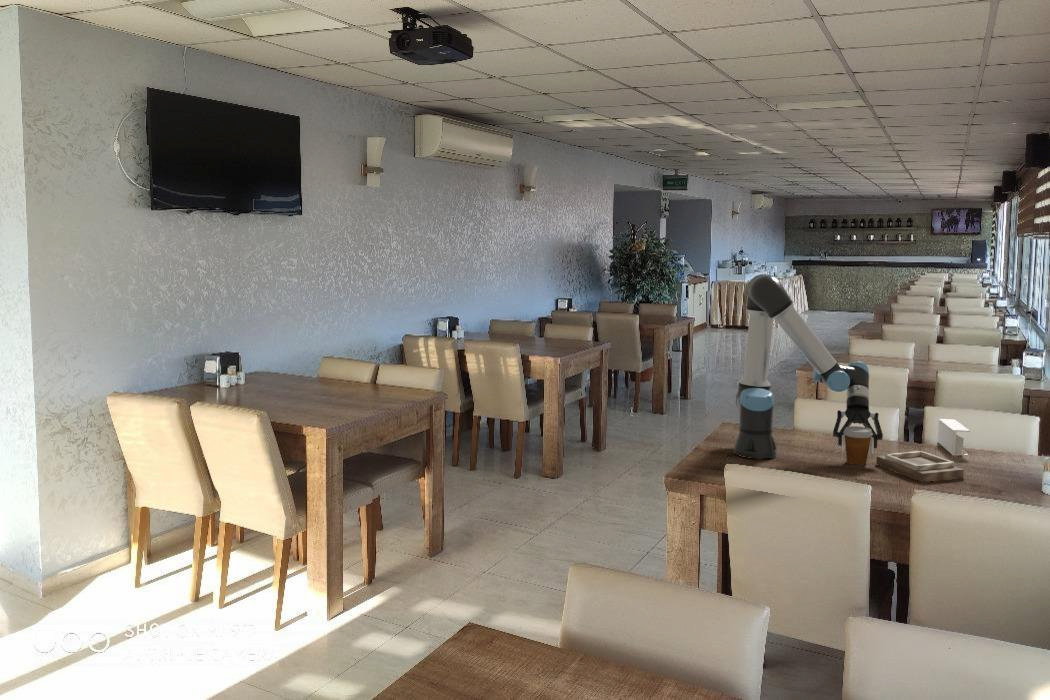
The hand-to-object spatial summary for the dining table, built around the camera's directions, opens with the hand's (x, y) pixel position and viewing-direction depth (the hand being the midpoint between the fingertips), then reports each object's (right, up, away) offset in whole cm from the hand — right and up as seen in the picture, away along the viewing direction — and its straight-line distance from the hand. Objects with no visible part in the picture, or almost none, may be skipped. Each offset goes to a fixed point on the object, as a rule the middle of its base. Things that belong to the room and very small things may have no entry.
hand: (857, 454), depth 285 cm
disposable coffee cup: (+1, -4, +4) cm, 5 cm away
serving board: (+18, -5, -7) cm, 20 cm away
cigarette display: (+44, -1, +22) cm, 49 cm away
